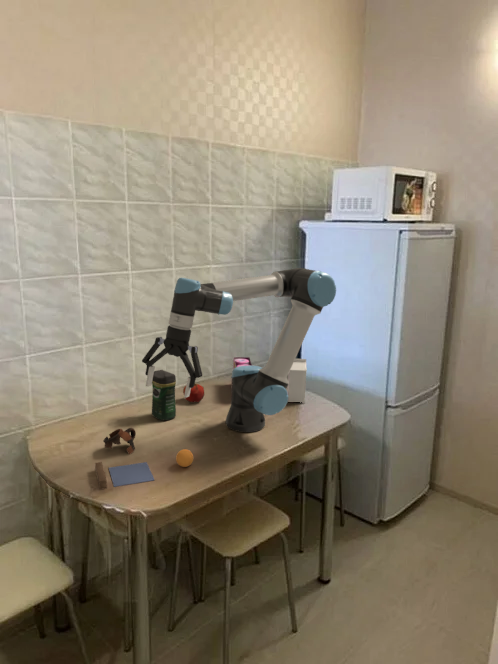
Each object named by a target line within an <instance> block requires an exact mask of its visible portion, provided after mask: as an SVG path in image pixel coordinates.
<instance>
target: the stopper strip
mask: <svg viewBox="0 0 498 664" xmlns="http://www.w3.org/2000/svg"><path fill="white" fill-rule="evenodd" d="M94 467H95V469H94V470H95V474H96V479H97V481H98V482H97V484H98V486H99V490H102V489H103V490H104V489H107V488H108V480H107V476H106V472H105V469H104V465H103V462H102V461H99V462H95V463H94Z"/></svg>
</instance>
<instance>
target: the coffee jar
mask: <svg viewBox="0 0 498 664" xmlns="http://www.w3.org/2000/svg"><path fill="white" fill-rule="evenodd" d="M176 377H177V376H176V374H174V373H171V372H169V371H167V370H163V369H158V370H154V374H153V380H152V385H151V387H152V401H151V416H152V417H154V418H156V419H157V420H159V421H170V420H173V419H174V418H176V416H177V411H176V383H177V378H176Z"/></svg>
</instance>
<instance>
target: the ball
mask: <svg viewBox="0 0 498 664" xmlns="http://www.w3.org/2000/svg"><path fill="white" fill-rule="evenodd" d="M175 458H176V459H175V460H176V463H177V465H178V466H180V467H183V468H186V467H189V466H191V465H192V463H193V462H194V455H193V452H192V451H191V450H190V449H186V448H185V449H183V448H182V449H181V450H179V451H178V452H177V454H176V456H175Z"/></svg>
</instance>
